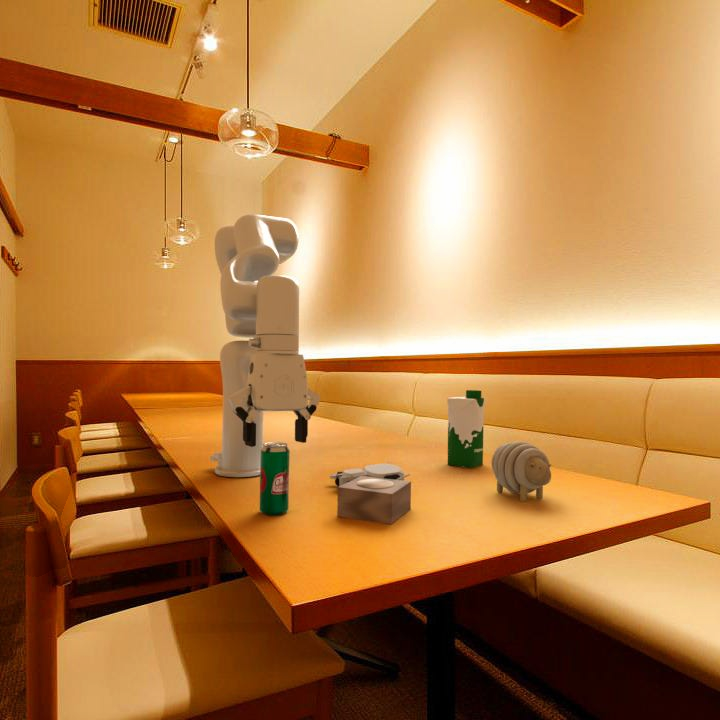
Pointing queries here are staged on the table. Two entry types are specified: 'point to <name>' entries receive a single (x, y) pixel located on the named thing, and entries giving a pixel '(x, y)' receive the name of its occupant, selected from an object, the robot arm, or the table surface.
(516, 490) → the toy sheep
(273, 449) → the soda can
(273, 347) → the robot arm
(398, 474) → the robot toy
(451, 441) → the milk carton
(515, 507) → the table surface
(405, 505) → the base brick
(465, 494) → the table surface
